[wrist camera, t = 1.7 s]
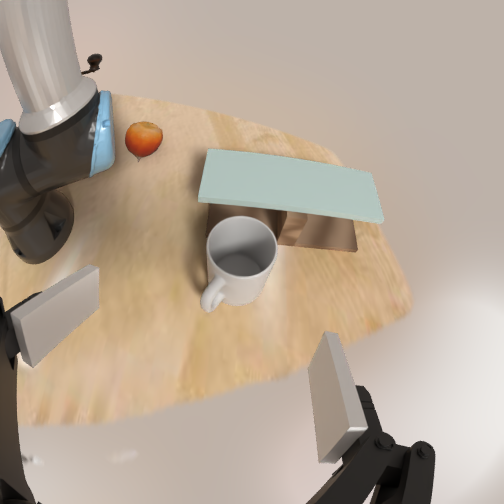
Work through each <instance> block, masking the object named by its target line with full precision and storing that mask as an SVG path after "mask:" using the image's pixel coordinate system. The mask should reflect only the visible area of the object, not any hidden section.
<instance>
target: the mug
mask: <svg viewBox="0 0 504 504" xmlns="http://www.w3.org/2000/svg"><path fill="white" fill-rule="evenodd" d="M277 252H278V246H277V241H276V238H275V236H274V234H273V232H272V231H271V230H270V228H269V227H268V226H266V225H265V224H264V223H263V222H261V221H259V220H257V219H255V218H252V217H248V216H233V217H229V218H227V219H224V220H222V221H220V222H219V223H218V224H217V225H216V226H214V228H213V229H212V230H211V232H210V234H209V236H208V239H207V243H206V254H207V268H208V283H209V284H208V286H207V287H206V289H205V290H204V292H203V294H202V296H201V300H200V305H201V308H202V309H203V310H204V311H206V312H208V313H210V312H212V311H213V310H214V309H215V308H216V307H217V306H218V305H219V303H220V302H223V303H225V304H228V305H232V306H242V305H246V304H249V303H251V302H252V301H254V300H255V299H256V298H257V297H258V296H259V295H260V294H261V292H262V290H263V288H264V285H265V283H266V281H267V278H268V276H269V274H270V272H271V270H272V268H273V265H274V263H275V261H276V258H277Z"/></svg>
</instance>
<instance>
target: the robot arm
mask: <svg viewBox="0 0 504 504" xmlns="http://www.w3.org/2000/svg"><path fill="white" fill-rule="evenodd" d="M0 49H1V53H2V56H3V59H4V62H5V65H6V68H7V71H8V74H9V76H10V79H11V82H12V84H13V87H14V89H15V92H16V94H17V97H18V99H19V101H20V104H21V106H22V108H23V112H22V115H21V118H20V121H19V127H16V123H15V122H13V120H12V119H6V120H4V121H2V122H0V226H1V227H2V228H3V230H4V231H5V233H6V235H7V238H8V240H9V242H10V244H11V246H12V249H13V251H14V252H15V254H16V255H17V256H18V257H19V258H20V259H22V260H23V261H24V262H26V263H28V264H39V263H42V262H44V261H46V260H48V259H50V258H51V257H52V256H54V255H55V254H56V253H57V252H58V251H59V250H60V249H61V247H62V246H63V245H64V243H65V242H66V240H67V238H68V236H69V234H70V232H71V229H72V226H73V221H74V213H73V208H72V206H71V204H70V203H69V201H68V200H67V198H66V197H65V196H64V195H63V194H62V193H60V192H59V191H57V190H56V189H57V188H59V187H62V186H65V185H67V184H70V183H73V182H76V181H79V180H82V179H85V178H88V177H92V176H93V175H94V174H97V173H99V172H102V171H104V170H107V169H108V168H110V167H111V166H112V165H113V163H114V161H115V137H114V123H113V108H112V98H111V93H110V92H109V91H101V92H99V93H98V90H97V86H96V83H95V81H94V80H93V79H91V78H88V77H84V76H82V74H81V71H80V66H79V62H78V58H77V53H76V49H75V44H74V39H73V33H72V28H71V22H70V16H69V9H68V2H67V0H0ZM98 308H99V267H96V266H93V265H91V264H89V265H87V266H85V267H83V268H82V269H80V270H78V271H77V272H75V273H73V274H71V275H70V276H68V277H66V278H65V279H63V280H61V281H60V282H58V283H56V284H55V285H53V286H51V287H50V288H48V289H47V290H45V291H43V292H42V291H41V292H38V293H35V294H32V295H31V296H29V297H28V298H27V299H24V300H23V301H22V302H20V303H18V304H17V305H15V306H14V307H12V308H11V309H9V310H8V311H6V312H5V310H4V305H3V300H2V298H1V297H0V504H36V502H35V499H34V496H33V494H32V492H31V490H30V488H29V486H28V484H27V482H26V480H25V475H24V470H23V464H22V458H21V451H20V444H19V434H18V422H17V364H18V359H17V354H18V353H19V352H21V356H22V359H23V361H24V362H26V363H27V364H28V365H30V366H31V367H33V368H34V367H35V366H36V365H37V364H38V363H39V362H40V361H41V360H42V359H43V358H44V357H45V356H46V355H47V354H48V353H49V352H50V351H51V350H53V349H54V348H55V347H56V346H57V345H58V344H59V343H60V342H61V341H62V340H63V339H64V338H66V337H67V336H68V335H69V334H70V333H71V332H72V331H73V330H74V329H76V328H77V327H78V326H79V325H80V324H81V323H82V322H83V321H85V320H86V319H87V318H88V317H89V316H90V315H92V314H93V313H94V312H95V311H96V310H97V309H98ZM308 374H309V382H310V390H311V398H312V406H313V414H314V423H315V432H316V441H317V450H318V461H319V463H332V464H333V463H334V464H335V463H336V462H337V461H338V460H339V459H340V458H341V457H342V461H343V464H342V465H341V466H340V467H339V468H338V469H337V470H336V471H335V472H334V473H333V474H332V475H333V476H332V477H331V478H330V479H329V480H328V481H327V482H326V484H324V486H323V487H322V488H321V489H320V490H319V491H318V492H317V493H316V494H315V495H314V496H313V497H312V498H311V499H310V500H309V501H308V502H307V503H306V504H363V502H364V501H365V500H366V498H367V497H368V495H369V494H370V492H371V491H372V489H373V488H374V486H375V485H376V486H375V489H374V493H373V496H372V498H371V502H370V504H430V503H431V496H432V489H433V479H434V469H435V451H434V449H433V447H432V446H431V445H430V444H428V443H427V442H424V441H418V442H416V443H415V444H413V445H412V446H411V447H406V446H401V445H397V444H396V443H395V440H394V439H393V437H391V436H390V435H389V434H387V433H384V432H383V431H382V428H381V425H380V422H379V419H378V416H377V413H376V410H375V408H374V404H373V403H372V399H371V396H370V394H369V392H368V391H367V390H366V389H365V387H364V386H357V385H355V383H354V380H353V377H352V374H351V371H350V368H349V365H348V362H347V359H346V356H345V353H344V350H343V347H342V344H341V342H340V339H339V336H338V333H333V332H328V331H325V332H324V334H323V336H322V339H321V341H320V343H319V345H318V348H317V350H316V352H315V354H314V356H313V358H312V360H311V363H310V365H309V367H308ZM37 504H41V503H40V502H38V503H37Z"/></svg>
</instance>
